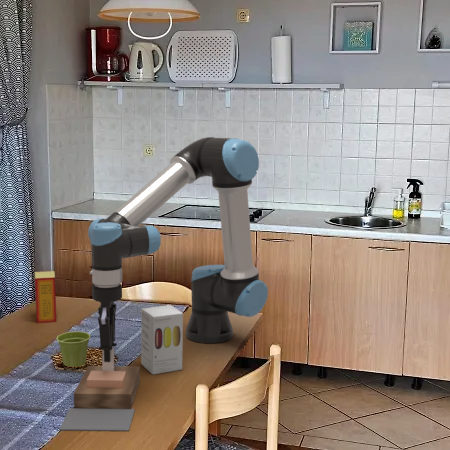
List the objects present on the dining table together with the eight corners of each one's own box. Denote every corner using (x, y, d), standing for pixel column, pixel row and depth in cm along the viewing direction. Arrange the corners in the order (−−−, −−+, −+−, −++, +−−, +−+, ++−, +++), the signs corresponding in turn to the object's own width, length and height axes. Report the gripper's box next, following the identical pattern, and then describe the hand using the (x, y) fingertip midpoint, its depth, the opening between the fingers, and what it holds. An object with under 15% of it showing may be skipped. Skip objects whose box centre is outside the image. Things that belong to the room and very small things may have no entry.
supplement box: (152, 375, 192) (151, 317, 189) (140, 364, 200) (139, 307, 197) (183, 369, 197) (183, 312, 194) (170, 358, 205) (170, 303, 202)
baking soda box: (36, 314, 244) (35, 270, 242) (55, 313, 246) (54, 269, 243) (36, 323, 235) (34, 277, 233) (56, 321, 237) (54, 276, 234)
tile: (126, 378, 180) (126, 371, 179) (122, 388, 174) (122, 380, 173) (91, 378, 180) (91, 370, 179) (86, 387, 174) (86, 380, 173)
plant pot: (74, 374, 192) (74, 344, 191) (50, 367, 197) (49, 338, 195) (98, 364, 200) (97, 335, 198) (73, 357, 205) (73, 329, 203)
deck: (140, 380, 189) (139, 366, 188) (131, 409, 171) (130, 394, 170) (88, 379, 189) (88, 365, 188) (74, 408, 171) (73, 393, 170)
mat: (134, 410, 171) (134, 408, 171) (128, 431, 160) (128, 429, 160) (69, 409, 171) (69, 408, 171) (59, 430, 160) (59, 429, 160)
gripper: (97, 277, 182) (98, 362, 187) (87, 290, 170) (88, 381, 174) (125, 277, 182) (126, 363, 186) (117, 291, 170) (118, 382, 174)
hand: (108, 371), depth 180 cm, fingers closed
